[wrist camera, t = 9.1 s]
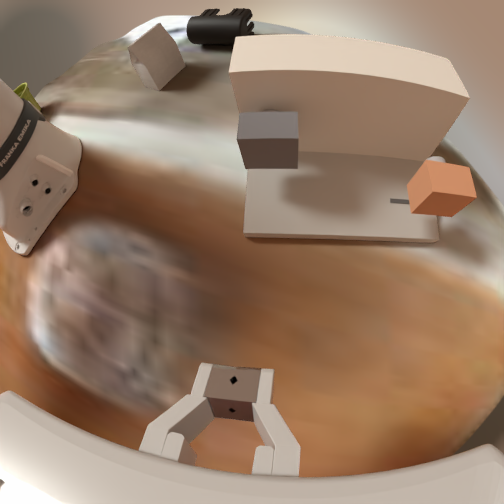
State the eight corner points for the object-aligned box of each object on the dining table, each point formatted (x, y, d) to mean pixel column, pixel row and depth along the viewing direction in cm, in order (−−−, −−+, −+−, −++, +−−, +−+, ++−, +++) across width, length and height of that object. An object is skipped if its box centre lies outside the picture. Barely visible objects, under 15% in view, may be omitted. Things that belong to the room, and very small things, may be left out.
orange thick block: (451, 216, 23) (476, 197, 18) (410, 213, 24) (432, 191, 19) (443, 177, 24) (465, 153, 19) (404, 172, 25) (422, 145, 20)
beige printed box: (185, 66, 40) (167, 23, 30) (159, 90, 39) (135, 48, 29) (171, 63, 41) (152, 22, 31) (145, 87, 40) (121, 47, 30)
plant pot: (35, 103, 46) (16, 85, 38) (52, 100, 45) (32, 79, 36) (15, 134, 45) (-6, 117, 36) (31, 134, 43) (7, 115, 35)
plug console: (433, 243, 28) (505, 195, 14) (245, 237, 31) (212, 173, 17) (412, 130, 32) (448, 58, 18) (253, 121, 35) (235, 36, 21)
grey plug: (297, 169, 26) (298, 138, 21) (245, 168, 27) (236, 139, 22) (296, 132, 27) (297, 99, 22) (248, 132, 28) (240, 101, 23)
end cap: (192, 52, 41) (182, 25, 34) (209, 32, 42) (201, 7, 35) (244, 54, 39) (237, 23, 32) (257, 34, 40) (253, 6, 34)
